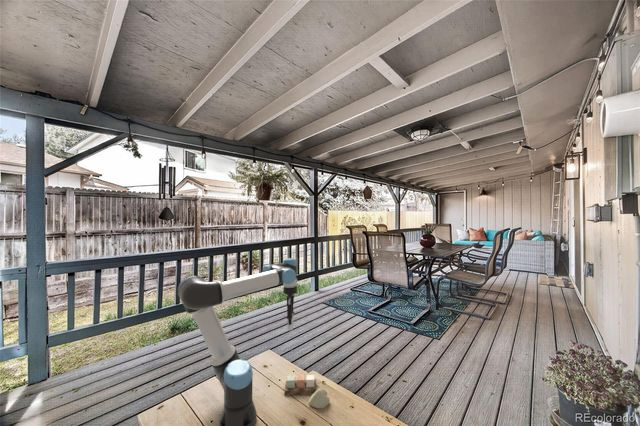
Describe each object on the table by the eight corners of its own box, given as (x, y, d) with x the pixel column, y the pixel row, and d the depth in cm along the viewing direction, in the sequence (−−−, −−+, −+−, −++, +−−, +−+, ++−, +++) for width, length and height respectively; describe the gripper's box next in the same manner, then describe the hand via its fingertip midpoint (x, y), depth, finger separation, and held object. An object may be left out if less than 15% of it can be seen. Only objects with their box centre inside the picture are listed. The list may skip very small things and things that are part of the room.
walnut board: (284, 395, 121) (284, 390, 121) (286, 384, 129) (286, 380, 129) (316, 393, 121) (316, 389, 121) (316, 383, 129) (316, 379, 129)
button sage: (286, 387, 123) (286, 380, 123) (287, 382, 127) (287, 375, 127) (294, 387, 123) (294, 380, 123) (295, 382, 127) (295, 375, 127)
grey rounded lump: (334, 401, 113) (321, 398, 109) (323, 414, 114) (310, 412, 110) (328, 384, 120) (316, 381, 117) (318, 397, 121) (305, 394, 117)
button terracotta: (296, 387, 123) (296, 380, 123) (297, 382, 127) (297, 375, 127) (304, 387, 123) (304, 380, 123) (304, 382, 127) (304, 375, 127)
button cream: (306, 387, 123) (306, 379, 123) (306, 382, 127) (306, 375, 127) (314, 386, 123) (314, 379, 123) (314, 381, 127) (314, 374, 127)
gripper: (295, 290, 129) (296, 334, 128) (297, 282, 146) (298, 321, 145) (281, 290, 128) (281, 335, 127) (285, 282, 146) (285, 321, 145)
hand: (290, 327), depth 136 cm, fingers open, 4 cm apart
